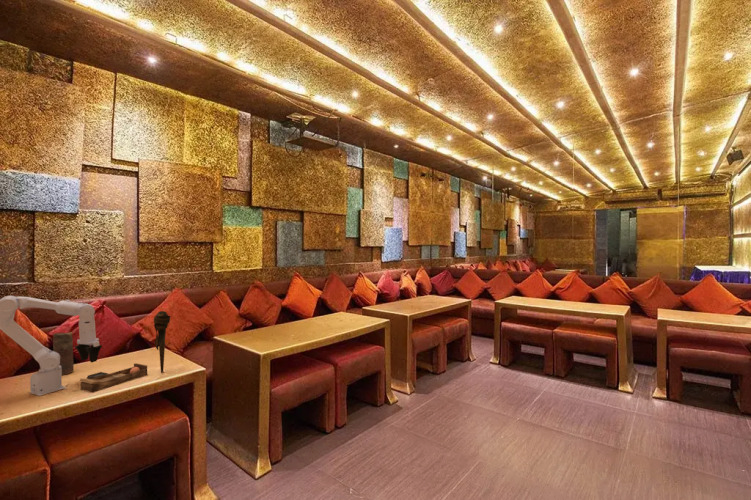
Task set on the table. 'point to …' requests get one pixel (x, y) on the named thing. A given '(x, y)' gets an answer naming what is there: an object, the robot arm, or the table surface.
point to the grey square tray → (96, 375)
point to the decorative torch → (161, 334)
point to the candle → (64, 351)
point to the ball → (134, 369)
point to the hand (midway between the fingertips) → (89, 360)
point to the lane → (113, 378)
